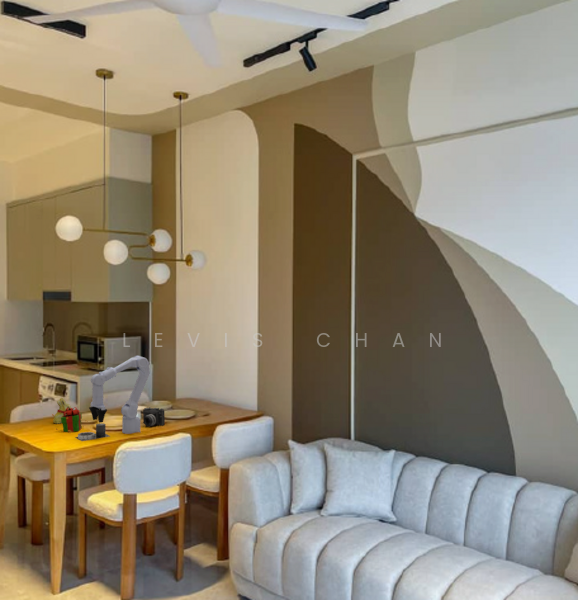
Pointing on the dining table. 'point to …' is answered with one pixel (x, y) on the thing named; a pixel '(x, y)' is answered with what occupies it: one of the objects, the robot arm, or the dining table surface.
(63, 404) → the chocolate bunny
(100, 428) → the dark grey block
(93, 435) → the lens mount
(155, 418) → the camera
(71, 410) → the gift wrap
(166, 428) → the dining table surface
